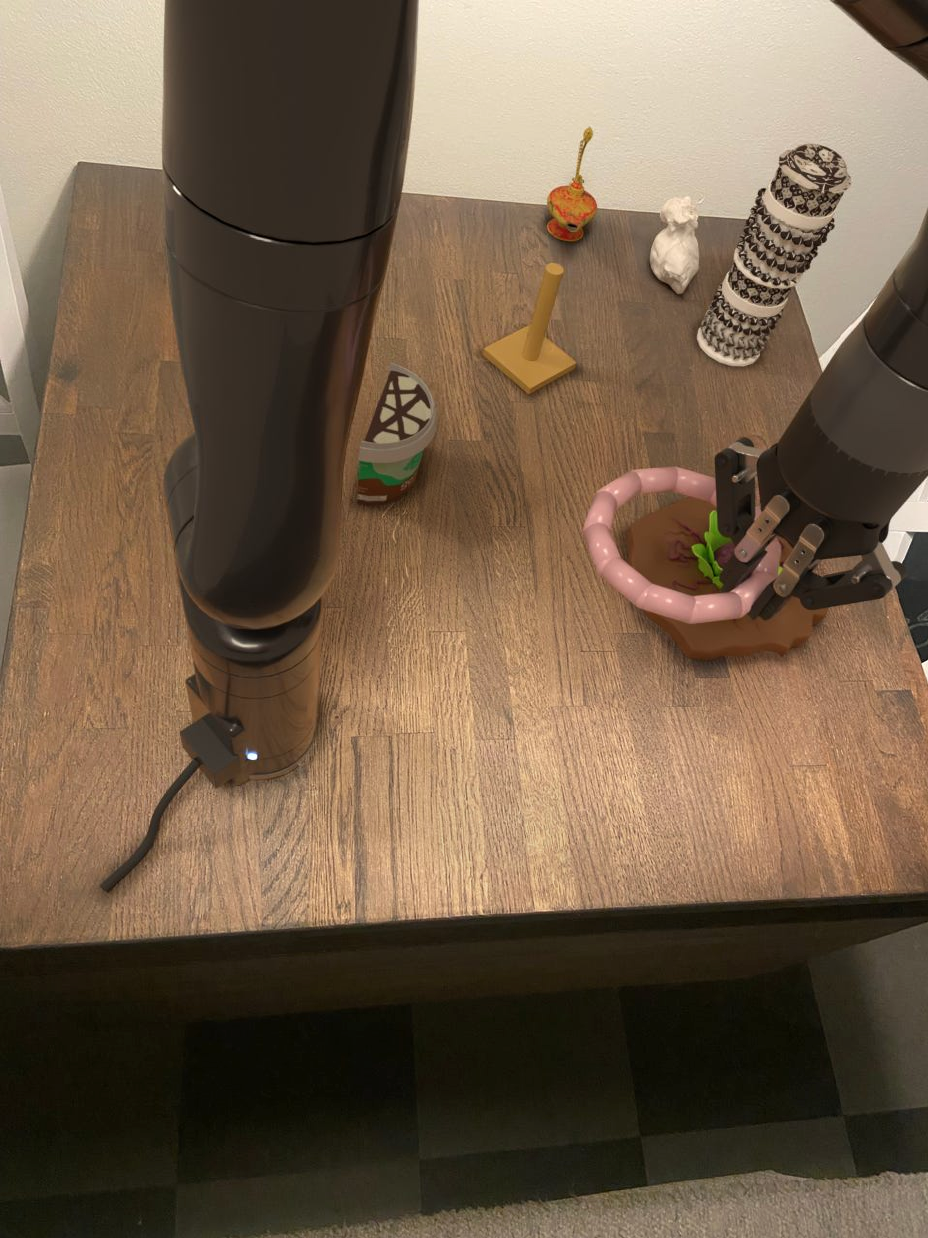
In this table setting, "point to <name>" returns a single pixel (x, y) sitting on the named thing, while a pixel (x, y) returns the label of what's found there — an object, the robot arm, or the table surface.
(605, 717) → the table surface
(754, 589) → the ring
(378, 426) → the food container
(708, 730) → the table surface
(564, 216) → the orange ornate vessel
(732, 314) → the decorative candle
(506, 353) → the stand
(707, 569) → the plant
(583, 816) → the table surface
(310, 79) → the robot arm
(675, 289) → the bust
